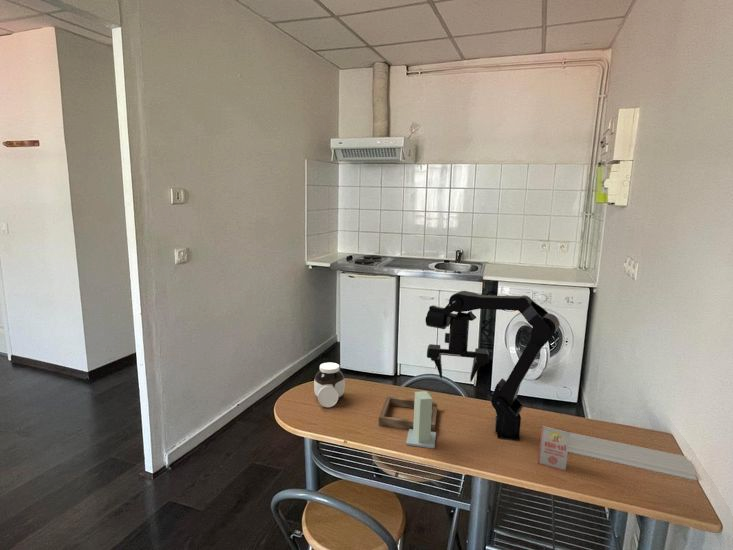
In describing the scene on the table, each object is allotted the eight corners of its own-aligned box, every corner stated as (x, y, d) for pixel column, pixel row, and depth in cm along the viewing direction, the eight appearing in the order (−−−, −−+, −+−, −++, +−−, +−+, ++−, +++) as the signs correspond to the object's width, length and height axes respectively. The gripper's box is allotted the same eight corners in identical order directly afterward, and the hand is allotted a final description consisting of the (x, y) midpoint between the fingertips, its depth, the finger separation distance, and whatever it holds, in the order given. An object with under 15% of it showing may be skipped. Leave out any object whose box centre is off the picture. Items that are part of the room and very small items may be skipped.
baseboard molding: (698, 486, 109) (685, 461, 120) (700, 476, 108) (686, 451, 119) (562, 455, 121) (562, 435, 132) (563, 446, 120) (563, 426, 131)
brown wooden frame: (437, 409, 145) (437, 402, 145) (434, 432, 130) (434, 424, 130) (386, 403, 149) (387, 396, 148) (378, 425, 134) (378, 417, 133)
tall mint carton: (424, 432, 129) (426, 391, 127) (430, 441, 124) (432, 398, 122) (413, 433, 128) (414, 391, 126) (418, 442, 123) (420, 399, 121)
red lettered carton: (539, 456, 119) (542, 422, 117) (566, 464, 116) (570, 429, 114) (537, 463, 116) (541, 428, 114) (565, 471, 113) (569, 435, 111)
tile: (435, 434, 129) (436, 432, 129) (434, 448, 122) (434, 446, 122) (409, 430, 131) (409, 428, 131) (405, 444, 123) (405, 442, 123)
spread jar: (335, 390, 158) (336, 359, 156) (353, 402, 149) (353, 369, 147) (306, 398, 151) (306, 366, 149) (322, 411, 142) (323, 377, 140)
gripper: (488, 327, 141) (485, 373, 143) (430, 322, 144) (428, 367, 147) (490, 337, 130) (487, 386, 132) (427, 332, 134) (425, 380, 136)
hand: (455, 379), depth 137 cm, fingers open, 9 cm apart
